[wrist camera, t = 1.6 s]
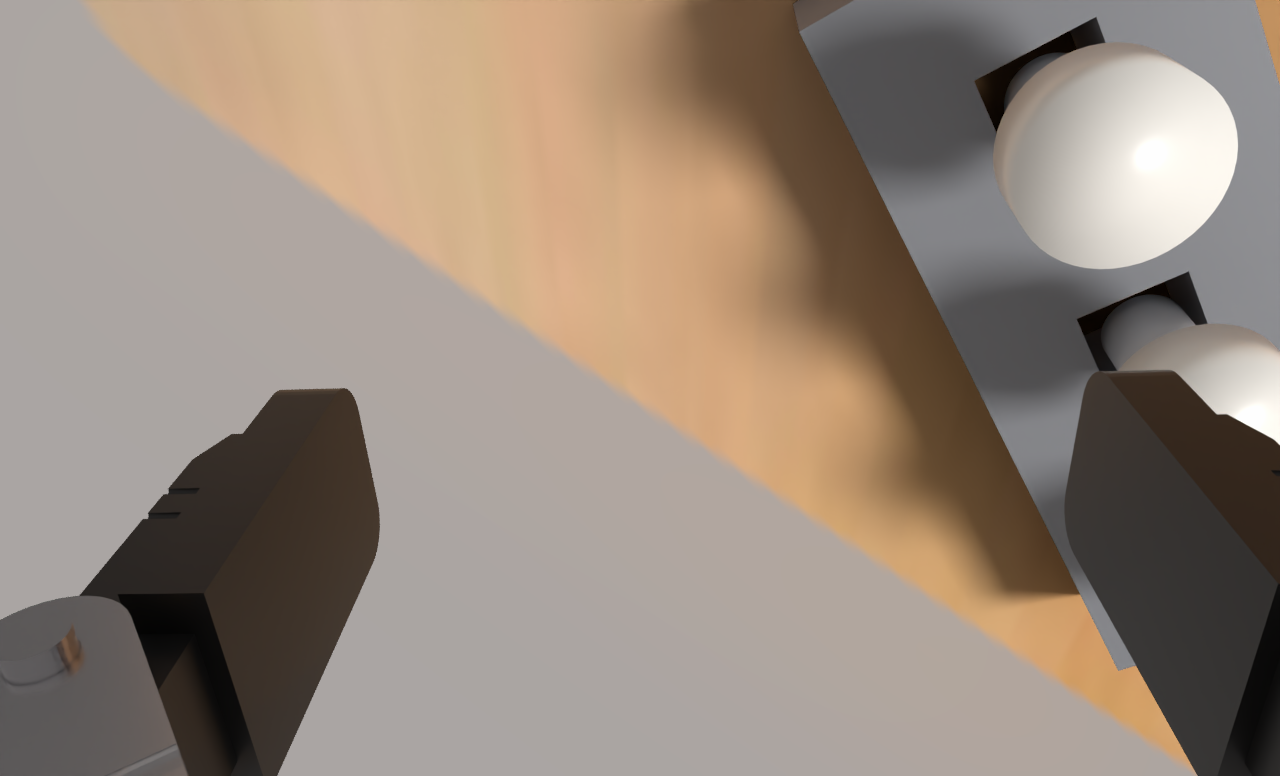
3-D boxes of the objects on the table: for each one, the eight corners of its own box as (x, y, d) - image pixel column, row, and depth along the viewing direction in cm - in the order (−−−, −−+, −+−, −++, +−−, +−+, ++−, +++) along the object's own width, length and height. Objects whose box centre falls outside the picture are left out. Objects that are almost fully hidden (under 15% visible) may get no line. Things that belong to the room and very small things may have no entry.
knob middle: (1200, 233, 28) (1301, 331, 23) (1243, 357, 30) (1346, 474, 25) (1040, 303, 30) (1101, 409, 25) (1091, 417, 32) (1158, 538, 26)
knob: (1109, -28, 25) (1202, 20, 20) (1164, 130, 27) (1262, 210, 22) (935, 66, 26) (980, 132, 21) (998, 209, 28) (1054, 301, 23)
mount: (1137, -200, 26) (1197, -199, 22) (1359, 504, 36) (1422, 578, 33) (792, 3, 29) (798, 31, 26) (1086, 595, 40) (1118, 670, 36)
